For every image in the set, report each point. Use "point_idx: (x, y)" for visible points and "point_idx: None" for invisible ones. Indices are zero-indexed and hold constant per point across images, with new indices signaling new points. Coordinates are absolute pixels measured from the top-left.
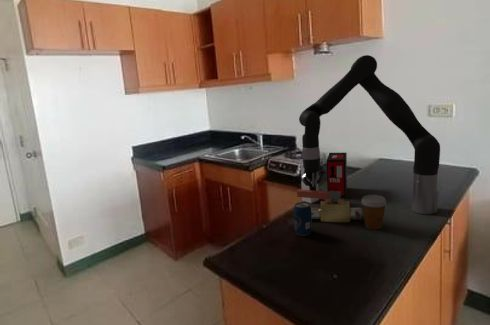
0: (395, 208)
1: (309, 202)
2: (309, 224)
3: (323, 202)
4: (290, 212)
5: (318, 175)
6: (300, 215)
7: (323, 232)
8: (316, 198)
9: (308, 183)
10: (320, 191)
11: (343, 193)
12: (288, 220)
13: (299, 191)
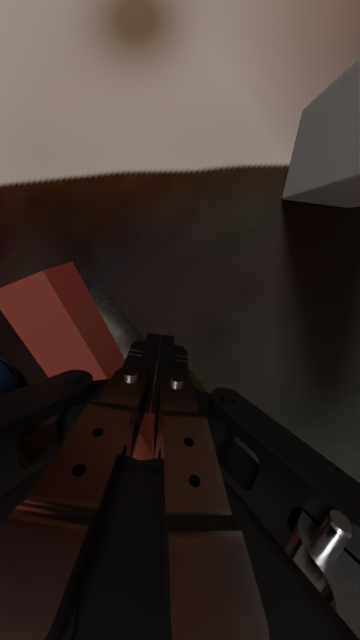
0: (354, 477)
1: (285, 186)
2: None
3: (151, 403)
4: (97, 187)
5: (288, 512)
6: None
7: (50, 420)
8: (339, 203)
9: (26, 460)
10: (134, 453)
11: None
12: (16, 253)
13: (9, 315)
